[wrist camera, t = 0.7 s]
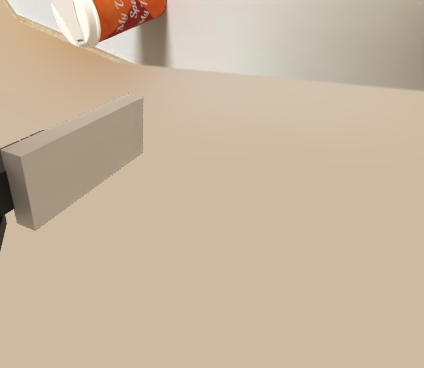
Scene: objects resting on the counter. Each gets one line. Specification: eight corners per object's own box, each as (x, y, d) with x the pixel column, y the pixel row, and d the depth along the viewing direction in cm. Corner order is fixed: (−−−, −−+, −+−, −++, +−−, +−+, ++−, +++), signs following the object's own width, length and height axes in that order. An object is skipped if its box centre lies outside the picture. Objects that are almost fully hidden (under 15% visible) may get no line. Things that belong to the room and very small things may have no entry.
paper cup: (179, 18, 49) (100, 45, 41) (145, 28, 54) (69, 55, 46) (160, -46, 46) (69, -30, 37) (125, -28, 51) (39, -11, 42)
